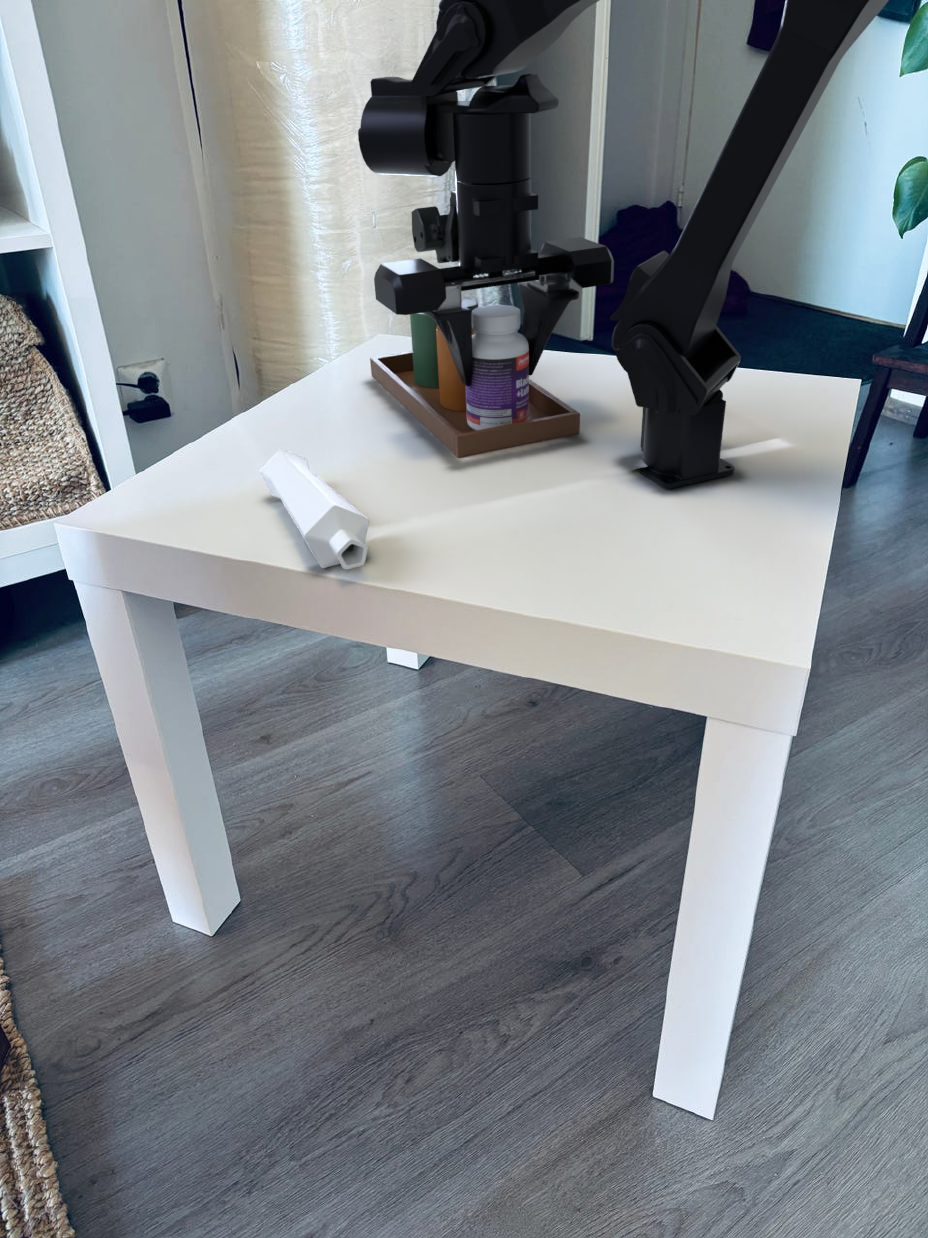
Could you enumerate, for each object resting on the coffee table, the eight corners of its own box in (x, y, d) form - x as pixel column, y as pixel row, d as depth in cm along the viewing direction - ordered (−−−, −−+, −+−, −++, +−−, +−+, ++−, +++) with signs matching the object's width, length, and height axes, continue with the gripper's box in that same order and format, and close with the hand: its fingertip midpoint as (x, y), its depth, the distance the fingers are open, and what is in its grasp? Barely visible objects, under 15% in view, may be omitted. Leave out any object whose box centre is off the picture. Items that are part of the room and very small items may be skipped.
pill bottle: (529, 434, 81) (529, 318, 76) (466, 436, 81) (461, 320, 76) (528, 411, 86) (528, 300, 80) (468, 413, 86) (463, 302, 81)
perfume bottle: (323, 481, 76) (396, 562, 64) (275, 509, 75) (340, 596, 64) (299, 433, 73) (370, 509, 62) (248, 461, 72) (311, 543, 61)
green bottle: (472, 383, 93) (469, 288, 89) (424, 391, 92) (418, 295, 87) (453, 368, 97) (449, 276, 92) (407, 376, 96) (400, 283, 91)
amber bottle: (502, 405, 88) (500, 305, 83) (452, 415, 86) (447, 314, 82) (481, 389, 92) (478, 292, 87) (432, 398, 90) (426, 300, 85)
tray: (579, 442, 82) (580, 412, 81) (458, 466, 79) (457, 436, 77) (474, 365, 100) (473, 340, 99) (372, 383, 97) (369, 357, 96)
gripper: (555, 155, 82) (553, 338, 90) (345, 177, 76) (364, 370, 85) (621, 171, 73) (612, 372, 82) (389, 197, 68) (406, 409, 76)
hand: (497, 379), depth 81 cm, fingers closed on pill bottle, 5 cm apart
